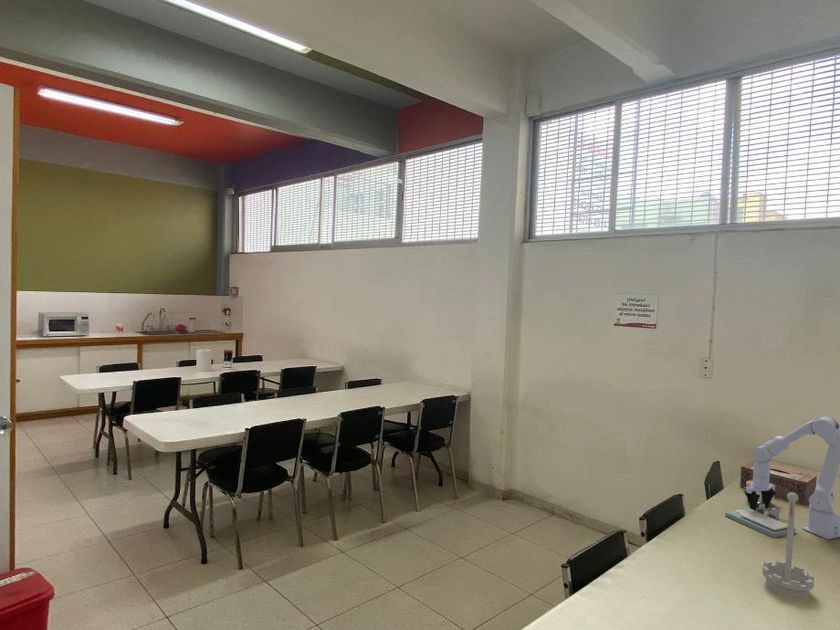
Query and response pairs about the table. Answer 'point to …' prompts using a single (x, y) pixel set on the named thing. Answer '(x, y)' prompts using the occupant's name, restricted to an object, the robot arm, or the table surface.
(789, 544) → the flag stand
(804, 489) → the tissue box cover
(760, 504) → the cylinder
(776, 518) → the cylinder
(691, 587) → the table surface
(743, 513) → the scale
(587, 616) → the table surface
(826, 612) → the table surface
